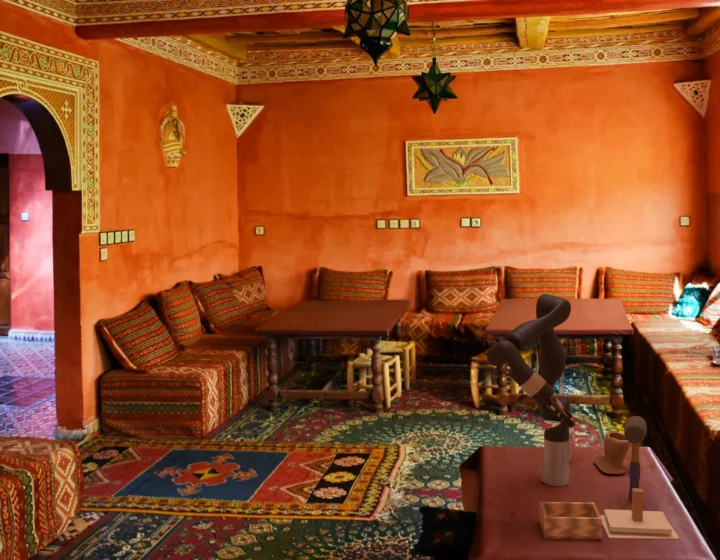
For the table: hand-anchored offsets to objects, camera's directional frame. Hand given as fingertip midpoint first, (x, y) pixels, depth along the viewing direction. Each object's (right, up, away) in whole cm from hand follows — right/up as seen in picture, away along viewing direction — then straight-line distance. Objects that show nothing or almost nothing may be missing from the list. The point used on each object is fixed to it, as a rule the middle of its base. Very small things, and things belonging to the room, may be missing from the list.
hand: (571, 422), depth 273 cm
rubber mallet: (+28, -32, +20) cm, 47 cm away
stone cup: (+29, -28, +51) cm, 65 cm away
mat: (+21, -35, -1) cm, 41 cm away
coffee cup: (+12, -27, +61) cm, 68 cm away
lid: (+21, -33, -1) cm, 39 cm away
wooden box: (-1, -35, -2) cm, 35 cm away
